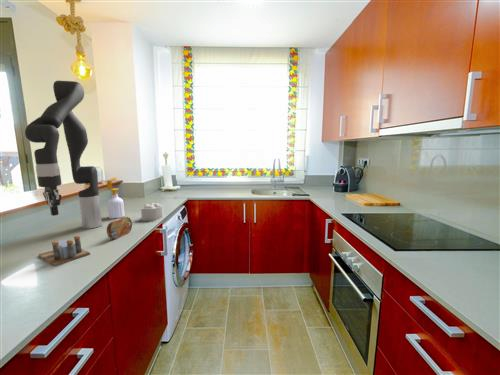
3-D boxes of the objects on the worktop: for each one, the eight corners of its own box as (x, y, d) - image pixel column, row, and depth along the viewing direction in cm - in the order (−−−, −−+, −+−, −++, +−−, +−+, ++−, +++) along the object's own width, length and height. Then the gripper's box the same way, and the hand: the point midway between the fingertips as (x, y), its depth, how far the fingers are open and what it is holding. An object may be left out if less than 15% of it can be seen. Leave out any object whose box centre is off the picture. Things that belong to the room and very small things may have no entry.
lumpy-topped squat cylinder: (139, 220, 151) (138, 206, 149) (151, 214, 163) (150, 201, 162) (155, 220, 149) (153, 206, 147) (166, 215, 161) (165, 202, 160)
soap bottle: (127, 216, 160) (124, 177, 156) (113, 219, 152) (109, 179, 148) (119, 214, 165) (116, 177, 161) (105, 217, 157) (101, 178, 153)
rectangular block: (64, 258, 96) (63, 247, 96) (55, 253, 101) (54, 242, 101) (76, 254, 99) (75, 244, 99) (67, 249, 105) (66, 239, 104)
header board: (38, 256, 101) (36, 238, 99) (72, 246, 110) (70, 229, 109) (54, 265, 92) (51, 246, 91) (90, 254, 102) (87, 236, 100)
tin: (112, 241, 116) (110, 223, 115) (106, 240, 117) (104, 223, 116) (133, 230, 131) (131, 215, 129) (127, 230, 131) (126, 215, 130)
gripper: (31, 174, 104) (38, 214, 107) (43, 176, 96) (50, 220, 99) (53, 172, 110) (59, 210, 113) (66, 174, 102) (71, 215, 106)
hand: (55, 215), depth 106 cm, fingers closed
